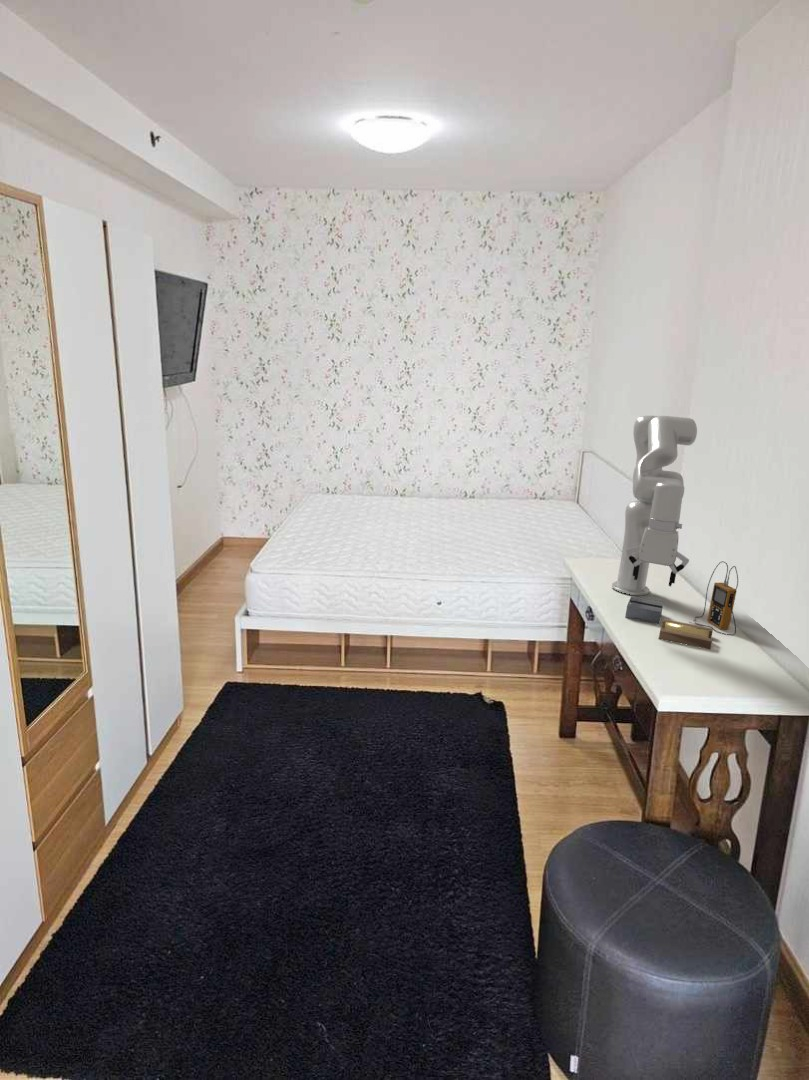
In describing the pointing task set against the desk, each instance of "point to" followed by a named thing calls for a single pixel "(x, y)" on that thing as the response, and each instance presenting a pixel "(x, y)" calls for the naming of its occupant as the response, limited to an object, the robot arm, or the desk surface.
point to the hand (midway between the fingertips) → (652, 582)
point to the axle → (687, 629)
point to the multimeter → (721, 604)
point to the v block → (644, 610)
